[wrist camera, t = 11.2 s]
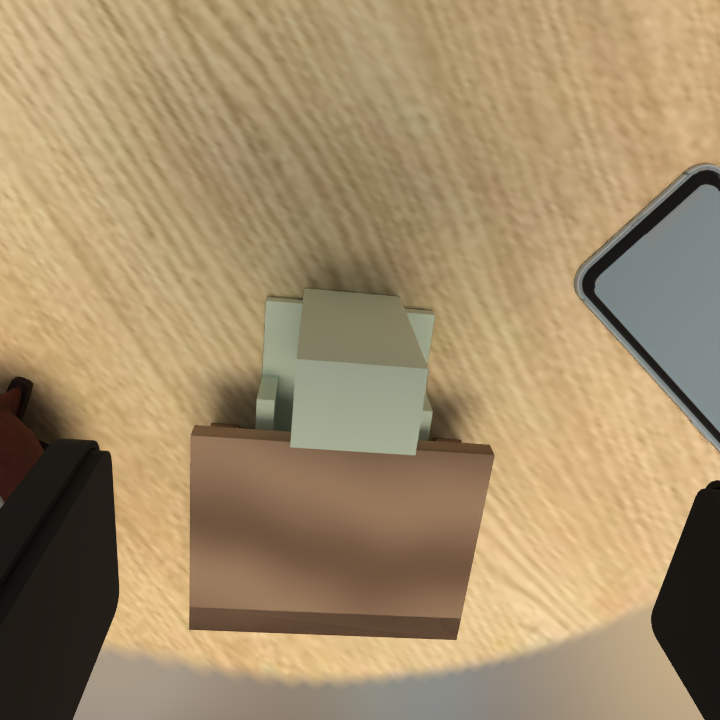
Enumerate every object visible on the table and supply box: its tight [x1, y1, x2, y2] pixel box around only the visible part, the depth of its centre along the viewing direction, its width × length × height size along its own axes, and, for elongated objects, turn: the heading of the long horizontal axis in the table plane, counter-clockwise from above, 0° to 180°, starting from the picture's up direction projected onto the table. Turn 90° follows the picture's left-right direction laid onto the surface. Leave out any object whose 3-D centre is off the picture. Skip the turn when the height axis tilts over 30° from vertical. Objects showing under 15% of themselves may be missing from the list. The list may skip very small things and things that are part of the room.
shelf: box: [189, 424, 494, 640], centre depth 27 cm, size 9×11×5 cm
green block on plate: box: [255, 288, 435, 455], centre depth 24 cm, size 10×7×8 cm
